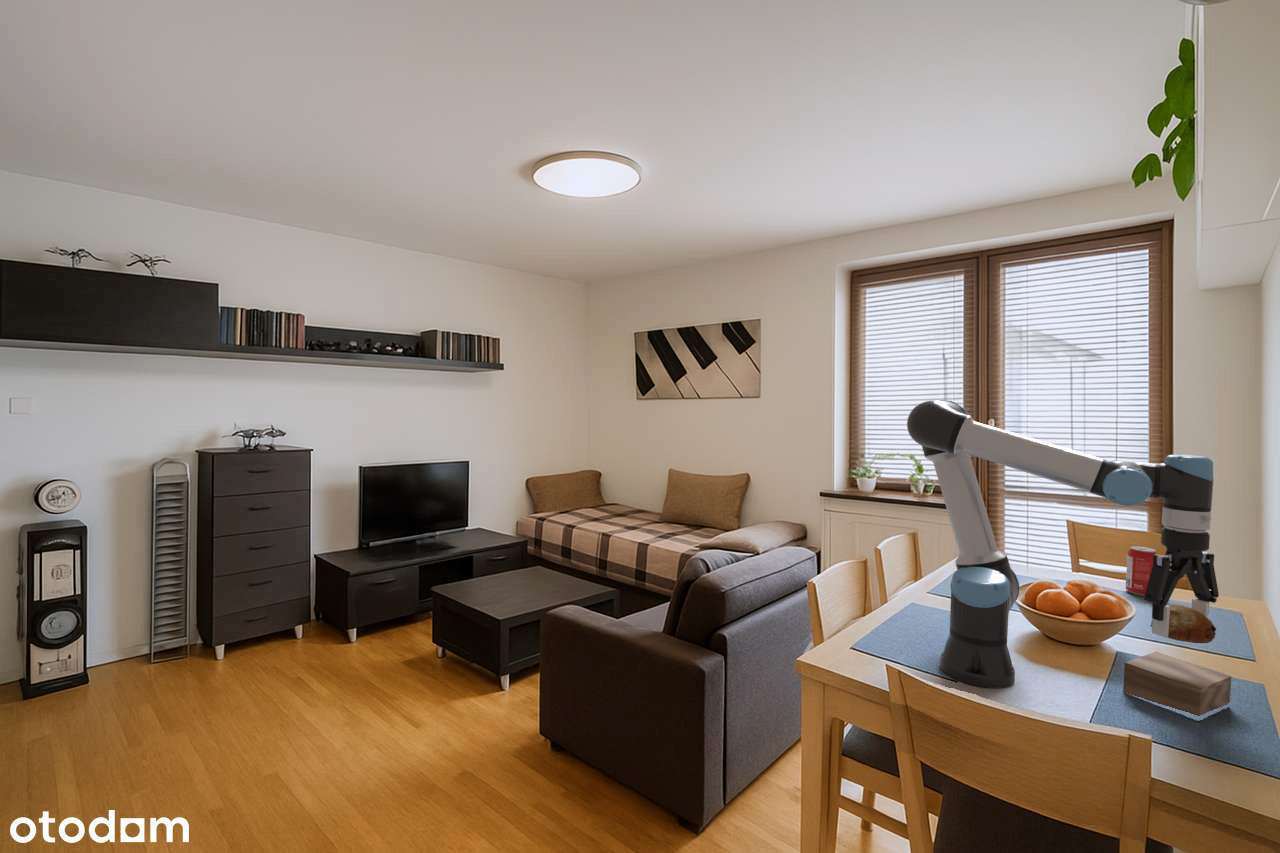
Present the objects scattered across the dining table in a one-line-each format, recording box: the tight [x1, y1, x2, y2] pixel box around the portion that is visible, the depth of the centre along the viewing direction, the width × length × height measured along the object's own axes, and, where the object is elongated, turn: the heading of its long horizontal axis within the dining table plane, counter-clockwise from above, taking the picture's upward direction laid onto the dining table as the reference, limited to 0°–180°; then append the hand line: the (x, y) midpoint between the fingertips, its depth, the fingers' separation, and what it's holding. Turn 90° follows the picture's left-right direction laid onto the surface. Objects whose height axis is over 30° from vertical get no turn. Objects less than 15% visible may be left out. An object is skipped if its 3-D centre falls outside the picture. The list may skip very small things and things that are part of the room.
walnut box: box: [1122, 651, 1232, 716], centre depth 128 cm, size 13×13×7 cm
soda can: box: [1125, 545, 1159, 597], centre depth 198 cm, size 8×8×15 cm
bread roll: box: [1149, 603, 1217, 644], centre depth 128 cm, size 10×10×8 cm
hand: (1179, 632), depth 128 cm, fingers closed on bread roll, 10 cm apart
